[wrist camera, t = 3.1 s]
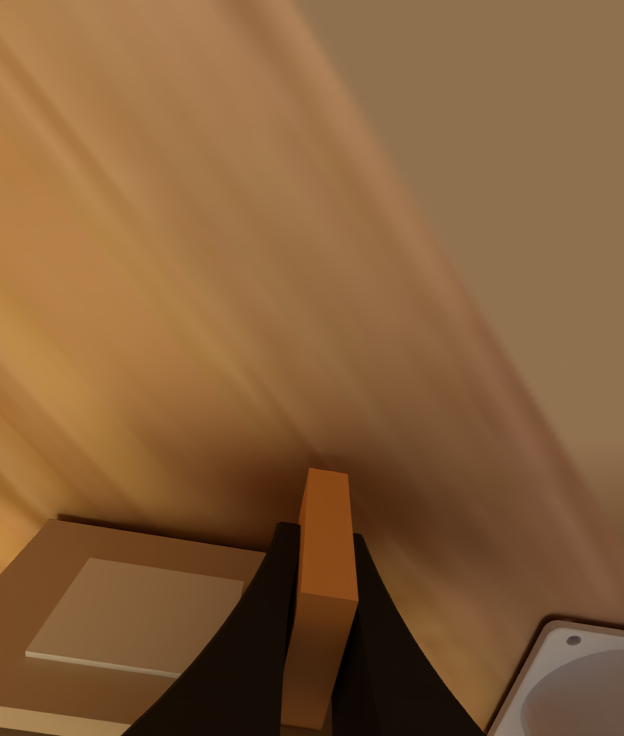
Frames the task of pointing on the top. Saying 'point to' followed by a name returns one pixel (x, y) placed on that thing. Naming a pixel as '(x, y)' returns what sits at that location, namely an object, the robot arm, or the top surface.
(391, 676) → the robot arm
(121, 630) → the carton flap
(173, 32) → the top surface
